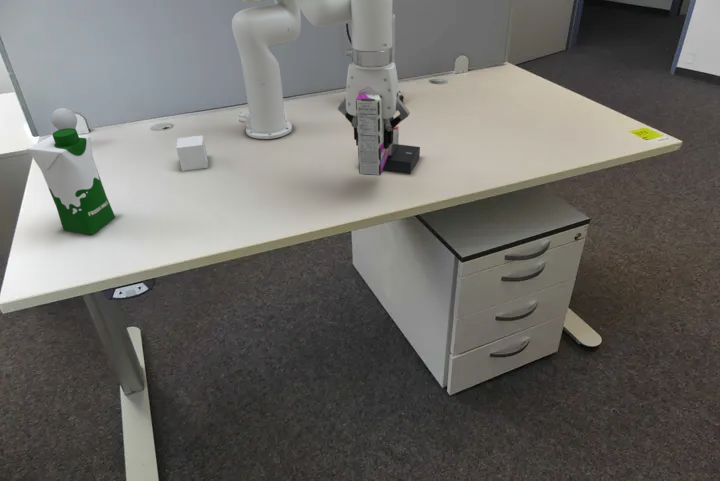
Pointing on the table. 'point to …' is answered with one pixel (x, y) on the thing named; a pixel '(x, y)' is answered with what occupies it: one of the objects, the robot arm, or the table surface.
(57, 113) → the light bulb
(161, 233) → the table surface
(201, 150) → the white cube
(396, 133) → the tap handle
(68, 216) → the milk carton
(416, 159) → the panel
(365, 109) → the candy bar box
